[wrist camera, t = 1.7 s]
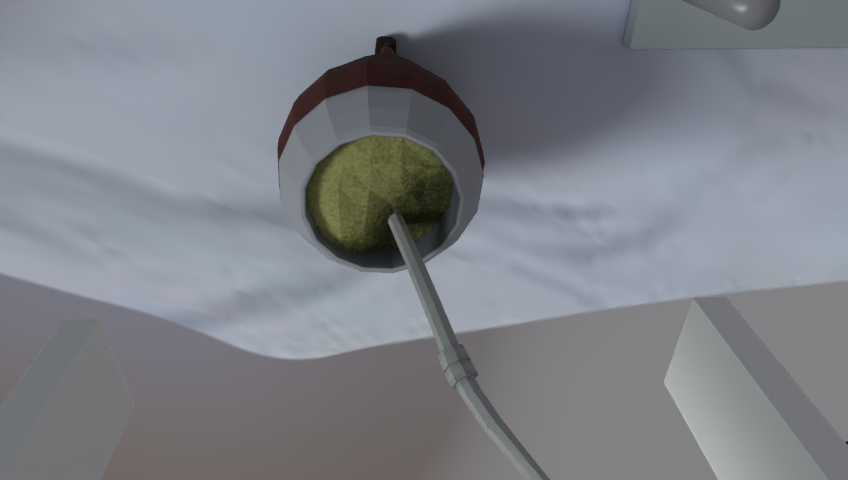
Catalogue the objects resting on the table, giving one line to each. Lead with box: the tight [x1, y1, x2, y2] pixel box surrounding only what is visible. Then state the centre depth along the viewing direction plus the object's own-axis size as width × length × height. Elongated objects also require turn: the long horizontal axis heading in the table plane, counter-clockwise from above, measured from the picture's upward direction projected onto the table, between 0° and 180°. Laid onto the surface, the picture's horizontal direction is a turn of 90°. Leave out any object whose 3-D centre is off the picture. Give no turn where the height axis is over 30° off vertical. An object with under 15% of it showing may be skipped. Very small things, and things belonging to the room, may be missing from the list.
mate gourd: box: [278, 36, 550, 480], centre depth 18 cm, size 8×8×15 cm
